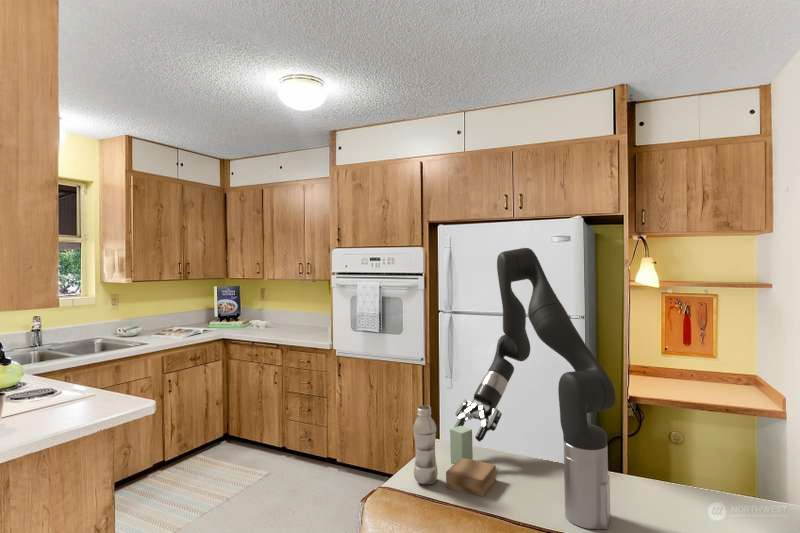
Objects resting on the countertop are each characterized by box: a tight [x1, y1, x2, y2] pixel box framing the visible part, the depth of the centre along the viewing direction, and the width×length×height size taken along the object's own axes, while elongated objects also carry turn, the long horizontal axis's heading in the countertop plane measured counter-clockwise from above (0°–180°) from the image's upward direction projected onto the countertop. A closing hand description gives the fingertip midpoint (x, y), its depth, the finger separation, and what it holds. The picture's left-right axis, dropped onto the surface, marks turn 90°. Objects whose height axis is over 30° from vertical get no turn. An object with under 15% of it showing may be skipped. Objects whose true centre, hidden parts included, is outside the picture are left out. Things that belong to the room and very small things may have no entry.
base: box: [445, 458, 497, 497], centre depth 119 cm, size 10×10×4 cm
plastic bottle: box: [412, 405, 439, 485], centre depth 121 cm, size 6×7×20 cm
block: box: [449, 425, 474, 465], centre depth 132 cm, size 4×4×10 cm
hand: (466, 435), depth 133 cm, fingers open, 8 cm apart
